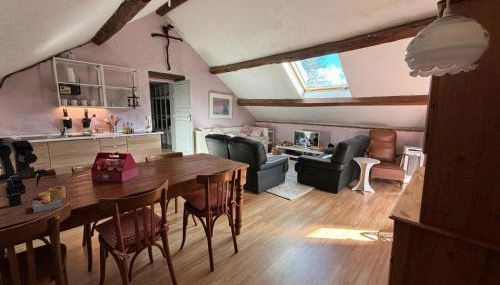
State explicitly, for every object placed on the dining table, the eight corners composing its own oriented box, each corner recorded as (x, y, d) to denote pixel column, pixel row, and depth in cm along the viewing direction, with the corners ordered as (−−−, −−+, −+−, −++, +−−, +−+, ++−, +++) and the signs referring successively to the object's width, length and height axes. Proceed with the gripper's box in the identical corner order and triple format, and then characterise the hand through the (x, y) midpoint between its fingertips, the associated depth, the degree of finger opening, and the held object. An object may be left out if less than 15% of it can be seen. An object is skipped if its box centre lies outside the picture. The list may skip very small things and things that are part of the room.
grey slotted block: (32, 207, 132) (32, 201, 131) (59, 201, 141) (58, 196, 140) (34, 213, 124) (33, 206, 123) (62, 206, 132) (61, 200, 132)
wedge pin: (42, 207, 132) (41, 194, 131) (51, 205, 135) (49, 192, 134) (43, 208, 129) (41, 195, 129) (52, 206, 132) (50, 193, 131)
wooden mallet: (69, 196, 150) (67, 186, 149) (55, 201, 142) (54, 190, 141) (49, 194, 155) (48, 184, 154) (35, 198, 147) (34, 188, 146)
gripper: (-3, 167, 114) (1, 196, 116) (45, 161, 128) (48, 187, 130) (-3, 164, 122) (1, 191, 124) (43, 159, 135) (46, 184, 137)
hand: (25, 188), depth 128 cm, fingers open, 9 cm apart
